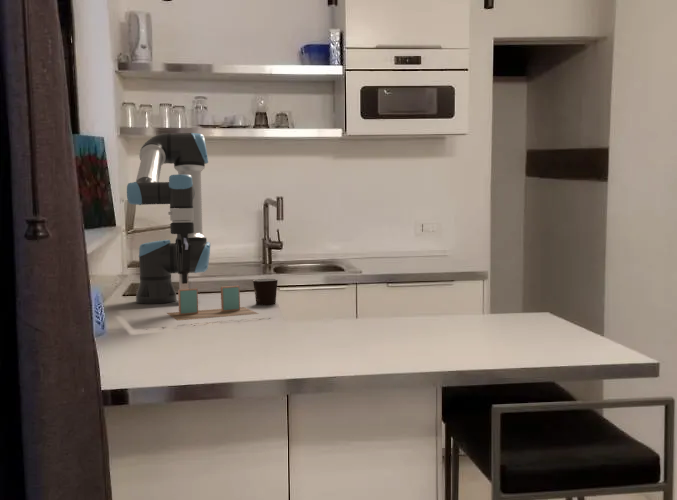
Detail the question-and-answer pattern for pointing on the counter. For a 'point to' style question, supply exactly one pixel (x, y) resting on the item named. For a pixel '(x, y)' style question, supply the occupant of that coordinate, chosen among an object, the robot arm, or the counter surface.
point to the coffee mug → (265, 291)
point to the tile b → (230, 298)
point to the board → (212, 314)
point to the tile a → (188, 301)
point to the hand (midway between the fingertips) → (184, 293)
